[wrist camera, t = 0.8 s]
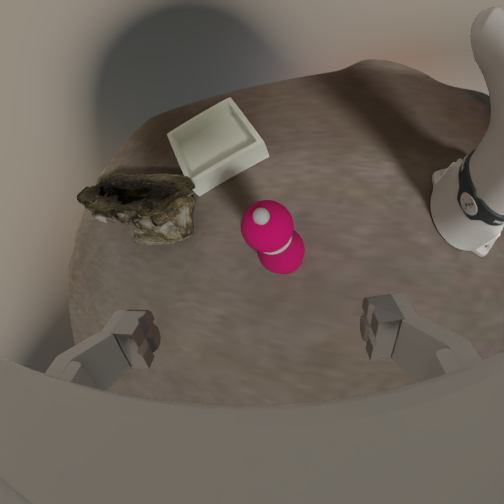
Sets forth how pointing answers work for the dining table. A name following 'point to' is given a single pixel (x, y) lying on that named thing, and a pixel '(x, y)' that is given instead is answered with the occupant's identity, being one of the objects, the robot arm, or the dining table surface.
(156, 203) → the hollow geode rock
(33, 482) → the robot arm
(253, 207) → the pepper mill
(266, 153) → the tray
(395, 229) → the dining table surface
